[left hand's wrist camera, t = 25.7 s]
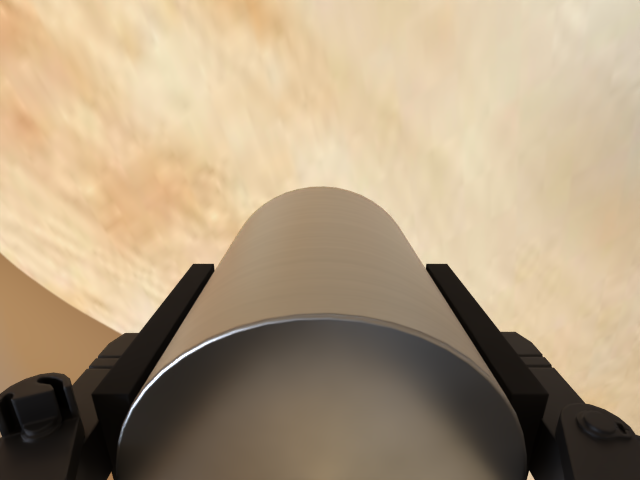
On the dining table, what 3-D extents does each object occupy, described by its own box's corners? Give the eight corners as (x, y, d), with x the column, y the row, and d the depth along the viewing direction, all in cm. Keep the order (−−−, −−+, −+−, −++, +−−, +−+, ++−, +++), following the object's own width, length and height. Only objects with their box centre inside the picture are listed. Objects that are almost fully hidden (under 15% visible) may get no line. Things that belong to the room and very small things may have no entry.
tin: (199, 301, 16) (56, 536, 8) (287, 148, 14) (232, 225, 5) (346, 377, 18) (373, 649, 9) (448, 248, 16) (620, 442, 7)
